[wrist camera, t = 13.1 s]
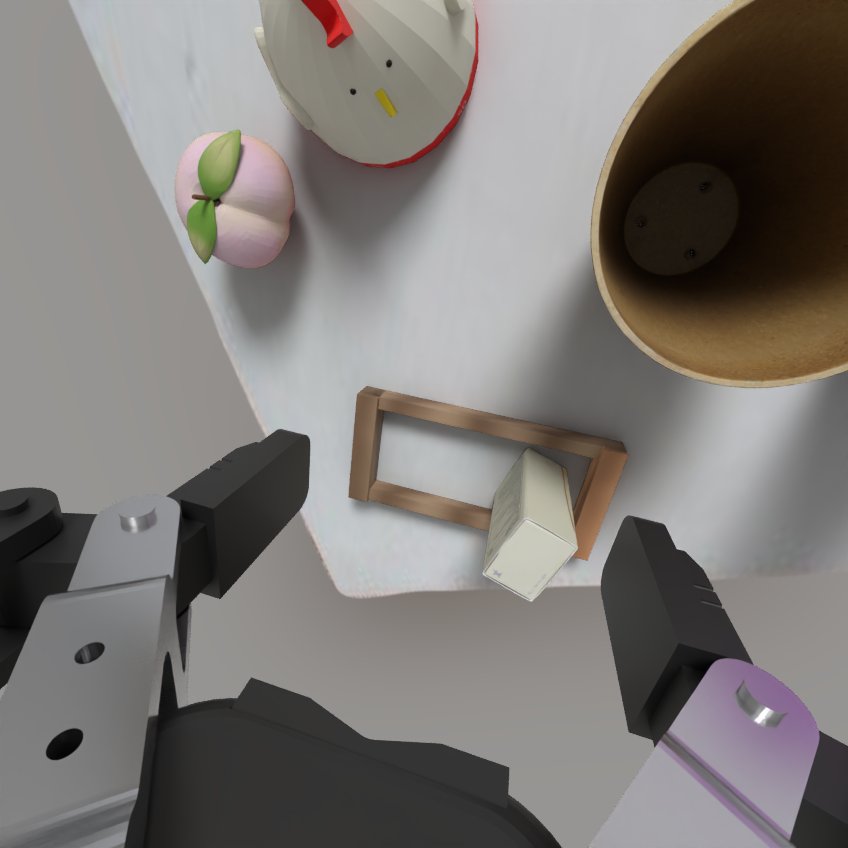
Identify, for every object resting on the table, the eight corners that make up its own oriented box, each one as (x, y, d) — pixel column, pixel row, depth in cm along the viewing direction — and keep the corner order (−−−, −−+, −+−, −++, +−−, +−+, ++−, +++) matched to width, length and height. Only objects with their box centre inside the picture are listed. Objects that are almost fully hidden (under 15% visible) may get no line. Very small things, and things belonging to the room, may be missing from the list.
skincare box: (531, 513, 42) (531, 606, 31) (492, 491, 42) (478, 576, 32) (568, 466, 40) (582, 550, 29) (526, 443, 40) (524, 517, 29)
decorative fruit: (238, 129, 35) (137, 89, 26) (327, 165, 35) (255, 136, 26) (223, 245, 39) (131, 244, 30) (303, 278, 39) (233, 288, 30)
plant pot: (589, 98, 29) (644, -47, 15) (838, 101, 26) (1204, -74, 12) (549, 318, 35) (560, 367, 21) (749, 339, 32) (924, 412, 18)
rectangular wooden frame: (622, 442, 38) (628, 455, 35) (584, 544, 42) (587, 560, 40) (366, 386, 41) (357, 394, 39) (357, 485, 46) (348, 497, 44)
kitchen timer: (353, 202, 35) (242, 175, 22) (264, 21, 32) (69, -144, 18) (510, 98, 30) (493, -21, 17) (424, -130, 27) (316, -509, 13)
